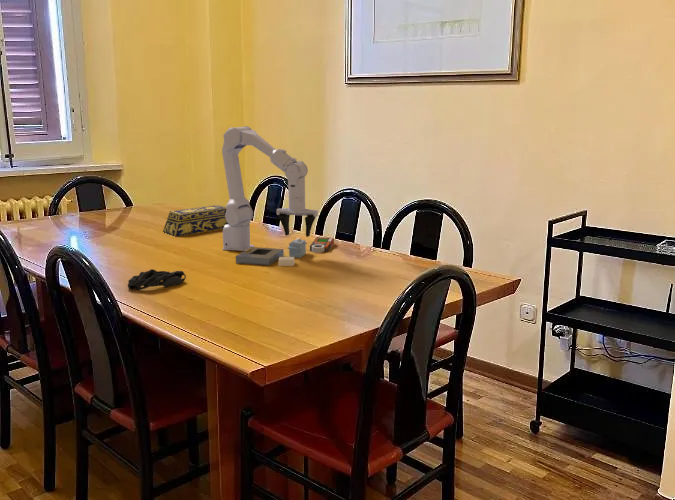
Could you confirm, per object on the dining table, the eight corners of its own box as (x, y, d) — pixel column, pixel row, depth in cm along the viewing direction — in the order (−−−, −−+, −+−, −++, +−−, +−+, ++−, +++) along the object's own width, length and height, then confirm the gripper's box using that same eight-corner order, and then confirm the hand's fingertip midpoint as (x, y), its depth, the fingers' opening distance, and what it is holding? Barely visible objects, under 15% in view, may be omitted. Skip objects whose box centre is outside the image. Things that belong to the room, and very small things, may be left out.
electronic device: (308, 246, 237) (317, 235, 252) (308, 254, 238) (317, 243, 252) (326, 247, 236) (334, 236, 250) (326, 255, 237) (334, 244, 251)
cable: (138, 295, 189) (137, 280, 188) (116, 285, 199) (115, 271, 198) (190, 283, 200) (190, 270, 199) (167, 274, 210) (166, 261, 209)
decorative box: (237, 227, 283) (236, 206, 280) (174, 237, 263) (173, 215, 261) (223, 224, 290) (222, 203, 288) (161, 233, 270) (159, 212, 268)
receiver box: (278, 266, 220) (278, 259, 219) (279, 263, 223) (279, 256, 223) (293, 266, 220) (293, 259, 219) (294, 263, 223) (294, 257, 223)
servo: (287, 258, 230) (287, 241, 228) (296, 252, 238) (296, 236, 237) (298, 259, 229) (298, 242, 227) (307, 252, 237) (306, 237, 236)
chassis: (235, 263, 223) (235, 254, 222) (251, 253, 236) (251, 245, 235) (269, 265, 220) (269, 256, 219) (283, 255, 233) (283, 247, 232)
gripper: (273, 198, 227) (274, 236, 230) (313, 199, 223) (313, 239, 226) (280, 195, 234) (281, 232, 237) (319, 196, 230) (319, 234, 233)
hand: (297, 235), depth 232 cm, fingers open, 7 cm apart
